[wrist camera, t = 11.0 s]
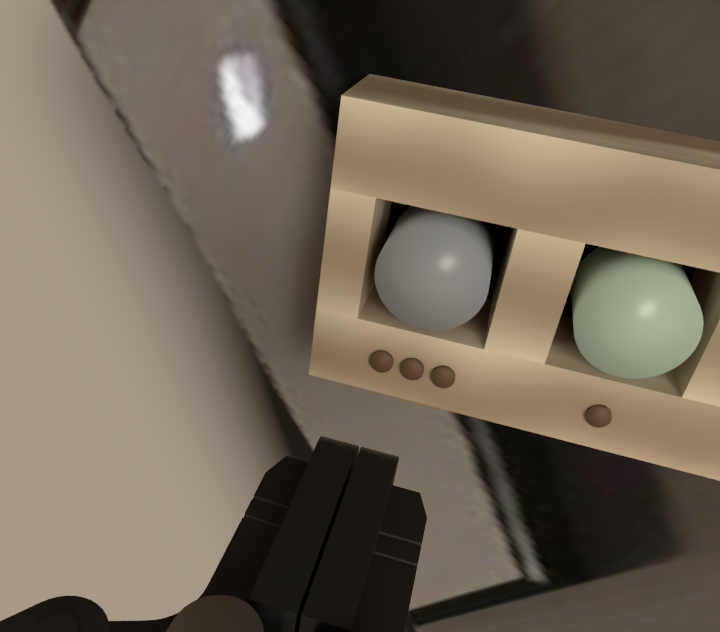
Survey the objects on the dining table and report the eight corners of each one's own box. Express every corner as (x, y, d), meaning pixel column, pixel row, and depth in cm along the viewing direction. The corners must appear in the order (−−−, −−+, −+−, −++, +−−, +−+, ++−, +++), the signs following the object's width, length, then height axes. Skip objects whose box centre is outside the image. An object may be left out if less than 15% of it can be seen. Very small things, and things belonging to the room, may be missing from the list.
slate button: (400, 186, 25) (383, 214, 22) (506, 209, 24) (501, 240, 22) (384, 280, 27) (367, 316, 24) (481, 303, 26) (475, 341, 24)
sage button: (589, 227, 24) (594, 261, 21) (704, 252, 23) (724, 289, 21) (557, 321, 26) (559, 362, 23) (662, 345, 25) (676, 390, 23)
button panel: (369, 73, 24) (339, 96, 21) (1028, 200, 21) (1124, 251, 18) (335, 325, 30) (307, 377, 26) (852, 453, 27) (899, 530, 24)
